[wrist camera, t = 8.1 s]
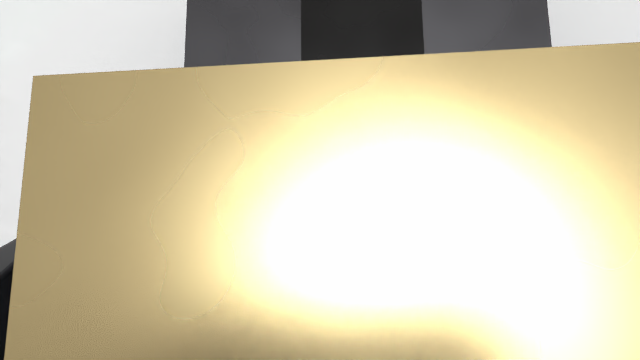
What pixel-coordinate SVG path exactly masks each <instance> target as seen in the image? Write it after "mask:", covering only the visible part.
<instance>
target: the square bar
mask: <svg viewBox="0 0 640 360" xmlns="http://www.w3.org/2000/svg"><path fill="white" fill-rule="evenodd" d="M4 360H640V42H635V43H617V44H600V45H582V46H564V47H546V48H528V49H510V50H492V51H474V52H456V53H438V54H420V55H402V56H384V57H366V58H348V59H330V60H312V61H294V62H276V63H258V64H240V65H222V66H204V67H186V68H168V69H150V70H132V71H114V72H96V73H78V74H60V75H42V76H33V83H32V93H31V103H30V113H29V122H28V132H27V142H26V151H25V161H24V171H23V180H22V190H21V200H20V209H19V219H18V229H17V239H16V248H15V258H14V268H13V277H12V287H11V297H10V306H9V316H8V326H7V335H6V345H5V355H4Z"/></svg>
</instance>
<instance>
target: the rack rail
mask: <svg viewBox="0 0 640 360" xmlns="http://www.w3.org/2000/svg"><path fill="white" fill-rule="evenodd" d="M546 47H552V45H551V36H550V26H549V17H548V7H547V0H187V17H186V40H185V62H184V68H186V67H204V66H222V65H240V64H258V63H276V62H294V61H312V60H330V59H348V58H366V57H384V56H402V55H420V54H438V53H456V52H474V51H492V50H510V49H528V48H546Z"/></svg>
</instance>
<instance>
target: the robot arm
mask: <svg viewBox="0 0 640 360" xmlns="http://www.w3.org/2000/svg"><path fill="white" fill-rule="evenodd" d="M16 239H17V238H16ZM16 239H15V240H13V241H11V242H9V243H8V244H6V245H4V246H2V247H0V360H4V355H5V345H6V335H7V326H8V316H9V306H10V297H11V287H12V277H13V268H14V258H15V248H16Z"/></svg>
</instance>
